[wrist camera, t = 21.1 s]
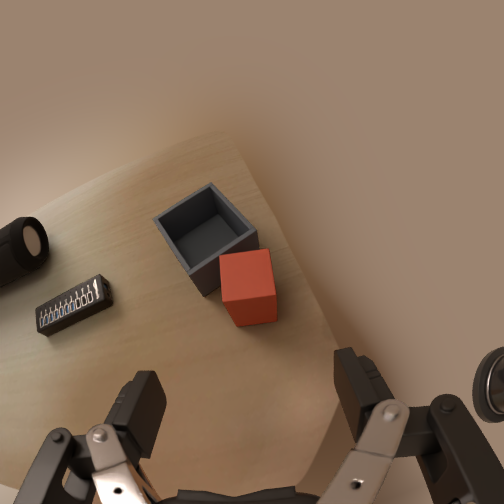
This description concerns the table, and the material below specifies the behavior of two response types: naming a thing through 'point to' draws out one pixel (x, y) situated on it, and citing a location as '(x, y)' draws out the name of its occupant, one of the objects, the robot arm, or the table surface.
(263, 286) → the block
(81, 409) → the table surface
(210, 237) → the tub
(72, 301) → the multiport hub
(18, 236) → the portable speaker
